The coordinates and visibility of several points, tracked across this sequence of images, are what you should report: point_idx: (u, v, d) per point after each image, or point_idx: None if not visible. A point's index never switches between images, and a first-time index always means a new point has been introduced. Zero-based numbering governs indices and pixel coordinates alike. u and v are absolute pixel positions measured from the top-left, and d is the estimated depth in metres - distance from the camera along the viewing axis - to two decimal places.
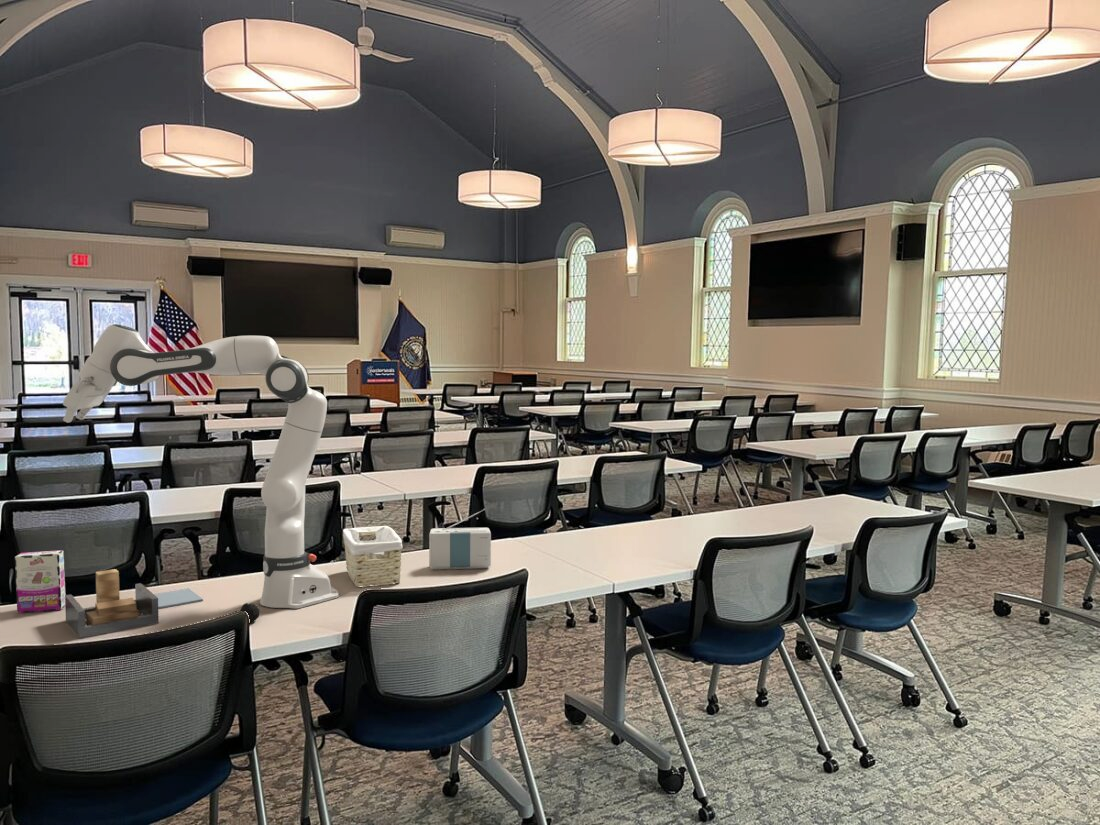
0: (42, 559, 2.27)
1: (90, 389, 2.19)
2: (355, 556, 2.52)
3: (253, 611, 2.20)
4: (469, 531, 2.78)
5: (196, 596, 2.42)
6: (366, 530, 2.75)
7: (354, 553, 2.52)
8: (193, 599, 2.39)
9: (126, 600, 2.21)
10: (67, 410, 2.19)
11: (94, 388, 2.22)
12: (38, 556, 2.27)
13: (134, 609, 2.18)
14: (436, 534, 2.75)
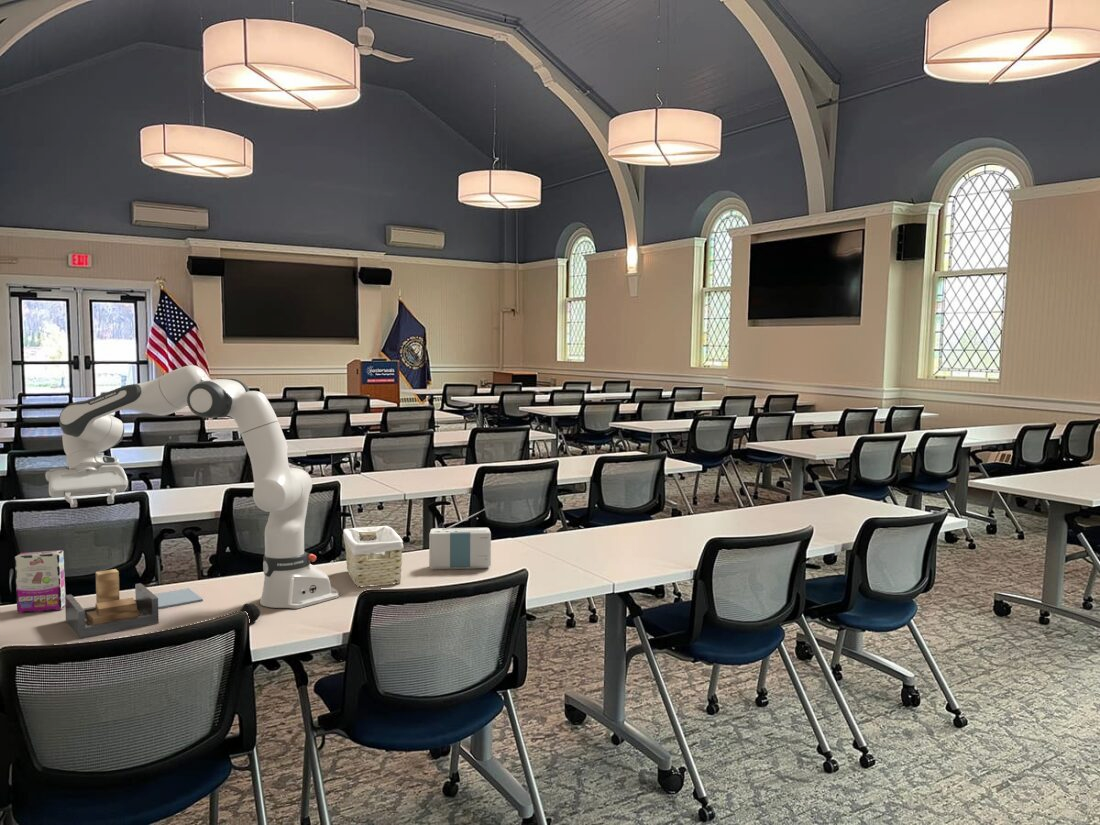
0: (42, 559, 2.27)
1: (61, 472, 2.34)
2: (356, 556, 2.53)
3: (253, 611, 2.19)
4: (469, 531, 2.78)
5: (196, 596, 2.42)
6: (366, 530, 2.75)
7: (355, 553, 2.52)
8: (193, 599, 2.39)
9: (126, 600, 2.21)
10: (65, 499, 2.32)
11: (72, 471, 2.36)
12: (38, 556, 2.27)
13: (134, 609, 2.19)
14: (436, 534, 2.75)
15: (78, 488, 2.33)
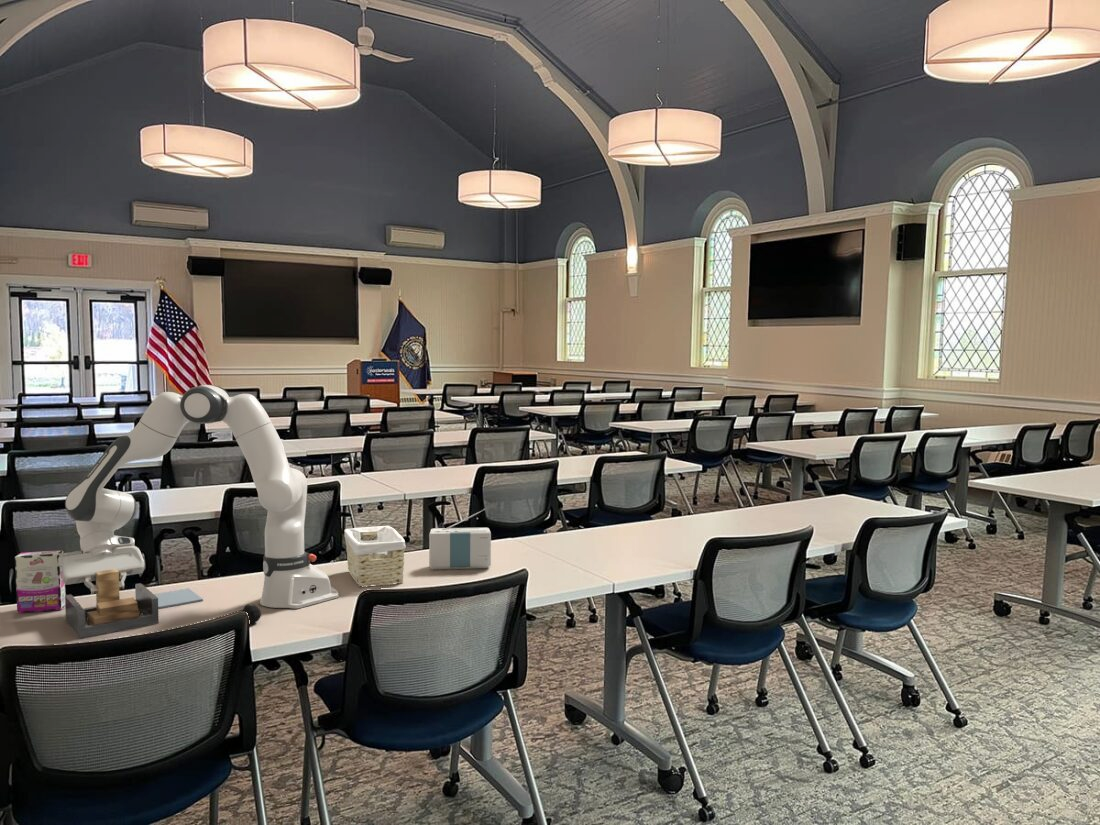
0: (42, 559, 2.27)
1: (75, 556, 2.23)
2: (358, 556, 2.53)
3: (254, 613, 2.18)
4: (469, 531, 2.78)
5: (196, 596, 2.42)
6: (367, 530, 2.75)
7: (357, 553, 2.52)
8: (193, 599, 2.39)
9: (127, 600, 2.21)
10: None
11: (86, 554, 2.25)
12: (38, 556, 2.27)
13: (135, 609, 2.19)
14: (436, 534, 2.75)
15: (93, 574, 2.22)
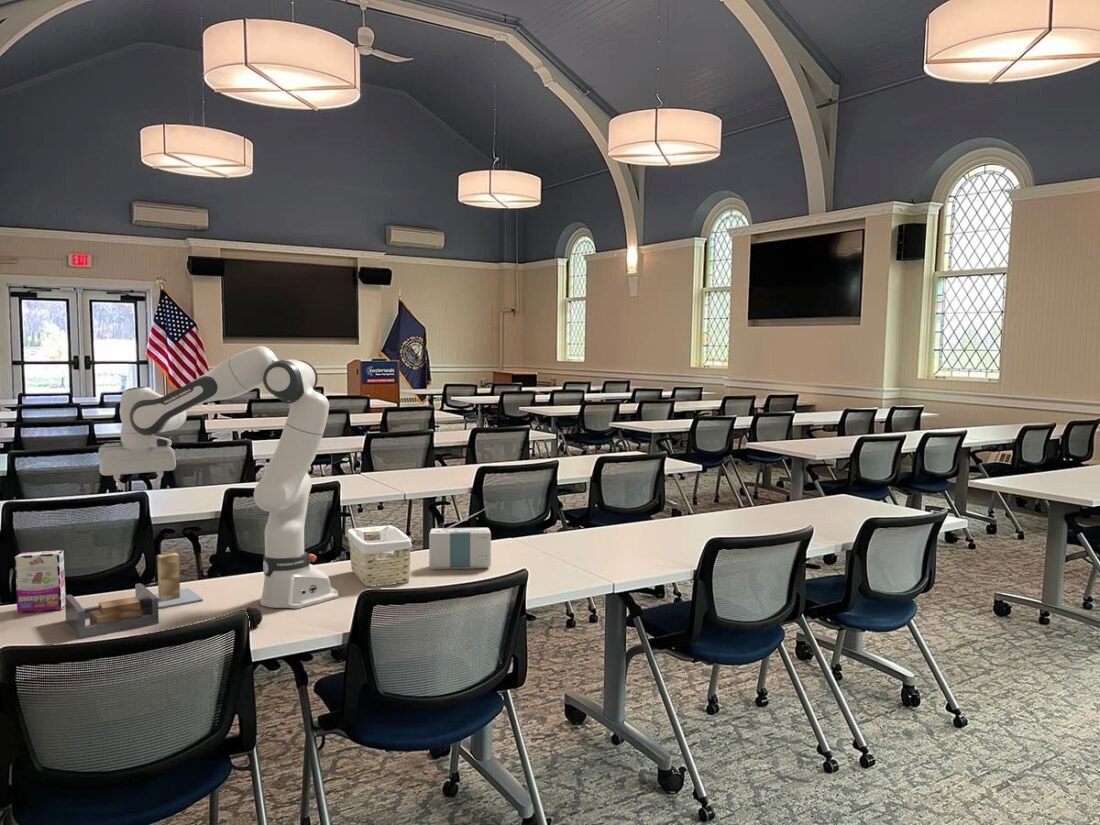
0: (42, 559, 2.27)
1: (114, 453, 2.34)
2: (366, 556, 2.53)
3: (254, 616, 2.16)
4: (469, 531, 2.78)
5: (196, 596, 2.42)
6: (370, 530, 2.75)
7: (365, 553, 2.53)
8: (193, 599, 2.39)
9: (129, 599, 2.22)
10: (114, 478, 2.36)
11: (125, 451, 2.36)
12: (38, 556, 2.27)
13: (138, 608, 2.19)
14: (436, 534, 2.75)
15: (128, 473, 2.37)
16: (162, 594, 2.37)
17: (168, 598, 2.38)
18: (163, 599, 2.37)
